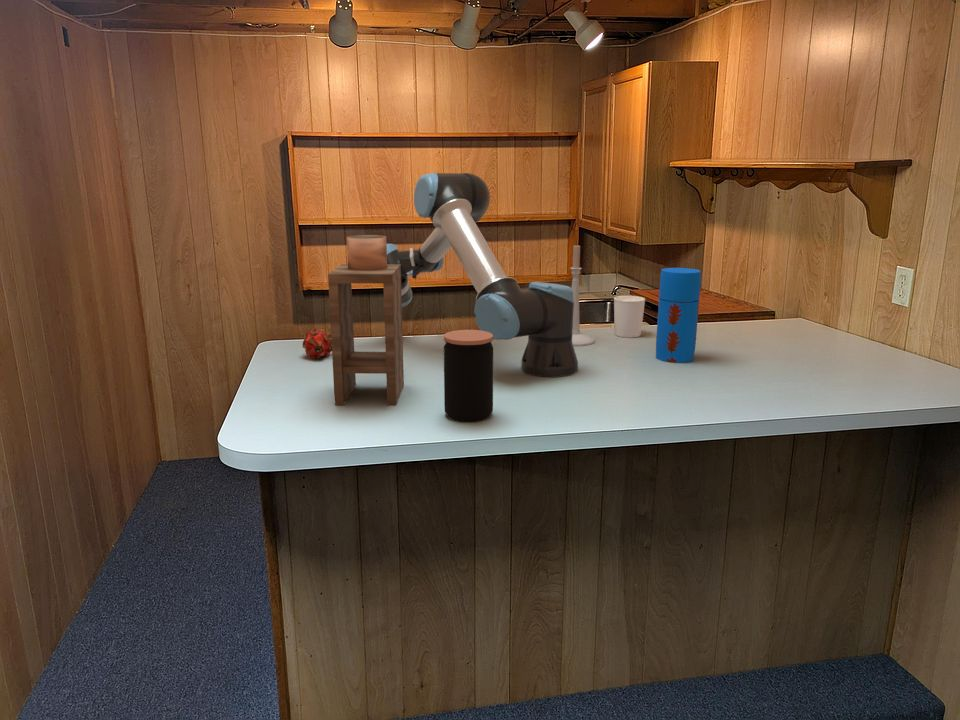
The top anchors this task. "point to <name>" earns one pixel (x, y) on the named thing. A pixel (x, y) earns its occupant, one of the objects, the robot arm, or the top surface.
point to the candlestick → (577, 303)
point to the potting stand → (343, 334)
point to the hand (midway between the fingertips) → (386, 252)
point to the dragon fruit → (317, 343)
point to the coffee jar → (468, 375)
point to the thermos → (677, 314)
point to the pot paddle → (367, 252)
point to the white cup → (628, 316)
